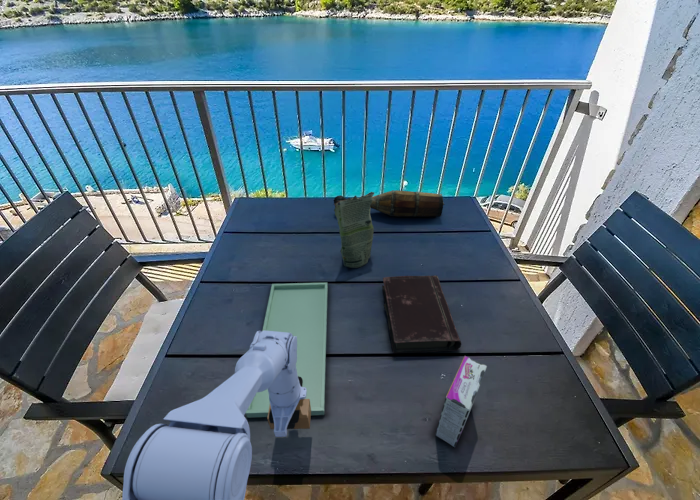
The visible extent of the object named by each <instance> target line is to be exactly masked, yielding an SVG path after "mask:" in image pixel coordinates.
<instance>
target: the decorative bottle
mask: <svg viewBox="0 0 700 500" xmlns="http://www.w3.org/2000/svg"><path fill="white" fill-rule="evenodd" d="M352 198H353V197H347V198H346V197H345V196H344V195H337V196H335V197H334V198H333V204H332V206H333V205H334V204H336V203H338V202H339V201H342V200H351V199H352ZM359 198H360V197H357V199H359ZM444 205H446V204H445V202H444V196H443V193H433V192H424V191H410V190H409V191H408V190H398V189H397V190H394V189H393V190H392V189H391V191H385V192H383V193H379V194H377V195H373V198H372V203H371V205H370V209H371V210H372V209H373V210H375V211H378V212H380V213H382V214H385V215H387V216H390V217H416V218H417V217H422V218H423V217H424V218H425V217H441V216H442V215H443V210H444ZM334 206H335V205H334Z"/></svg>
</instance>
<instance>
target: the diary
mask: <svg viewBox="0 0 700 500" xmlns="http://www.w3.org/2000/svg"><path fill="white" fill-rule="evenodd" d="M382 280H383V285H382V294H383V300H384V304H383V307H384V310H385V312H386V317H387V325H388V331H389V338H390V343H391V348H392V353H393V354H408V353H409V354H412V353H434V352H436V353H437V352H457V351H459V350H460V349H461V347H462V342H461V338H460V336H459V333H458V331H457V328H456V325H455V322H454V320H453V317H452V313H451V310H450V308H449V304H448V302H447V299H446V297H445V294H444V291H443V288H442V285H441V282H440V279H439V276H438V275H398V276H385V277H382Z"/></svg>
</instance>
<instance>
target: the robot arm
mask: <svg viewBox="0 0 700 500" xmlns="http://www.w3.org/2000/svg"><path fill="white" fill-rule="evenodd" d="M296 362H297V336H293V335H292V333H288V332H277V331H266V330H264V331H262V330H256V332H255V334H254V336H253V339H252V342H251V343H250V345H249V349H248V350H247V351H246V352H245V353H244V354H243V355H242V356H241V357H240V358H238V360H237V362H236V364H235V367H234V373H233V374H232V375H230V377H228V378H227V379H226V380H224V381H223V382H221V384H219V385H218V386H217V387H215V388H214V389H213V390H211V391H210V392H209V393H208V394H206V395H205V396H204V397H201V398H199V399H197V400H195V401H193V402H190V403H187V404H184V405H182V406H179V407H177V408H174V409H172V410H170V411H169V412H168V413H167V414H166V415H165V416H164V418H162V420H163V421H168V422H169V424H166V423H156V424H154V425H152V426H150V427H149V428H148V429H147V430H146V431H144V433H143V434H141V436H140V437H139V439H137V441H136V443H135V444H134V446H133V447H132V449H131V450H130V453H129V455H128V457H127V461H126V463H125V467H124V471H123V485H122V493H121V495H122V499H121V500H245V497H246V492H247V485H248V479H249V475H250V472H251V465H252V457H253V447H252V443H251V429H250V425H249V422H248V419H247V417H245V416H246V411H247V409H248V407H249V406H250V404H251V402H252V400H253V398H254V397H255V395H256V393H257V392H262V391H264V390H266V389H268V392H269V400H270V405H271V409H270V413H269V421H270V423H274V429H273V433H274V437H275V438H286V437H287V436H288V430H295V429H294V427H295V423H297V422H298V420H299V415H300V410H295V409H296V407H297V405H298V402H299V401H300V400H301V399H305V398H306V394H307V390H306V388H305V387H302V385H303V379H302V378H301V377H299V376H298V374H297V369H296Z"/></svg>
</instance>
